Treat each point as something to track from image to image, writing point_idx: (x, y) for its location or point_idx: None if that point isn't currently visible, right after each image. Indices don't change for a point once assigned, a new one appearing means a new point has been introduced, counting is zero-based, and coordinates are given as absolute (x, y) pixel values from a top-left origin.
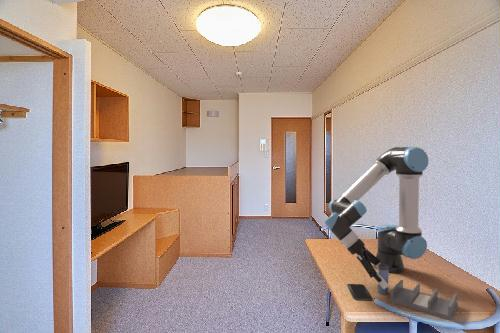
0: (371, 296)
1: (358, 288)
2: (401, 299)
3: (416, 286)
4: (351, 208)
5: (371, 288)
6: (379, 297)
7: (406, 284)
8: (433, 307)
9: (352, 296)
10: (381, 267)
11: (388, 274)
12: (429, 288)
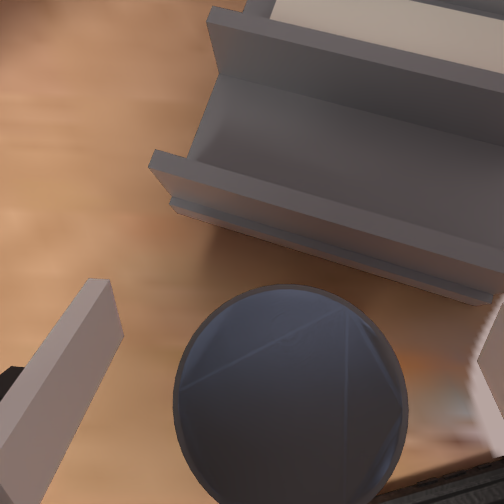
0: (483, 475)
1: None
2: (462, 203)
3: (286, 37)
4: None
5: None
6: (418, 391)
7: (25, 158)
8: None
9: None
10: (395, 454)
11: (107, 300)
12: (54, 8)
